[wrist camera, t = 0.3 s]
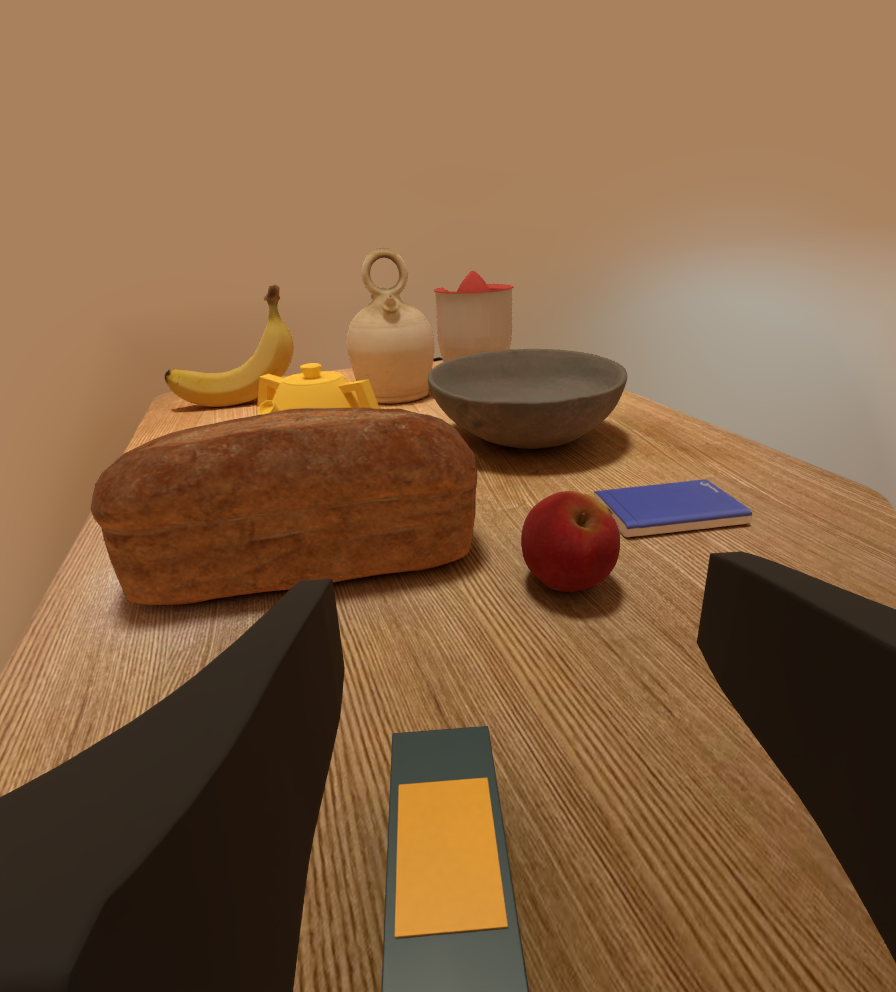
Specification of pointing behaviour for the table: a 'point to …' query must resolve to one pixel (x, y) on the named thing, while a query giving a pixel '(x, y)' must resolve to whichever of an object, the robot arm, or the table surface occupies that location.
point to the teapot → (313, 391)
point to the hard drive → (672, 508)
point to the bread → (286, 503)
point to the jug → (391, 340)
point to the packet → (448, 870)
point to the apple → (570, 541)
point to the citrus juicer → (474, 318)
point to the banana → (244, 379)
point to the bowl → (528, 394)
